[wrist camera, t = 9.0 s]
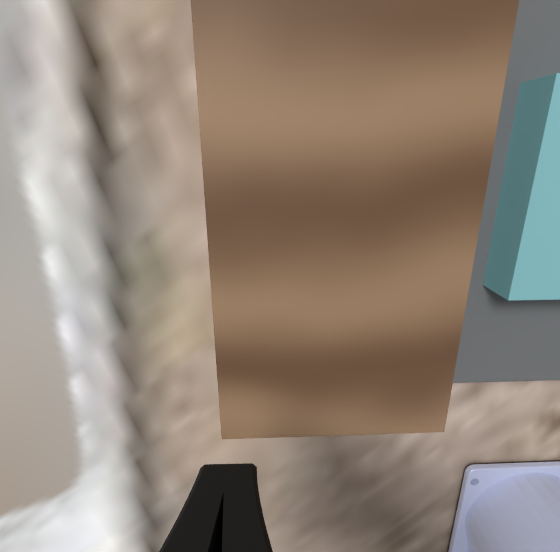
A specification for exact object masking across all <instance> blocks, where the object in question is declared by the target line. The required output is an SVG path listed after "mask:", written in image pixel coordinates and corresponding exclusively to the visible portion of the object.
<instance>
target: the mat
mask: <svg viewBox="0 0 560 552" xmlns="http://www.w3.org/2000/svg"><path fill="white" fill-rule="evenodd" d="M556 73H560V0H519V4H518V10H517V16H516V22H515V27H514V33H513V39H512V45H511V50H510V56H509V62H508V68H507V73H506V79H505V85H504V91H503V96H502V102H501V108H500V113H499V119H498V125H497V131H496V136H495V142H494V148H493V154H492V159H491V165H490V171H489V177H488V182H487V188H486V194H485V200H484V205H483V211H482V217H481V223H480V228H479V234H478V240H477V246H476V251H475V257H474V263H473V269H472V274H471V280H470V286H469V292H468V297H467V303H466V309H465V314H464V320H463V326H462V332H461V337H460V343H459V349H458V355H457V360H456V366H455V372H454V378H453V383H464V382H499V381H535V380H560V299H559V300H507V299H505V298H503V297H502V296H500V295H498V294H497V293H495V292H493V291H492V290H490V289H489V288H487V287H485V286H484V285H483V281H484V276H485V271H486V265H487V260H488V255H489V249H490V244H491V239H492V233H493V228H494V223H495V217H496V212H497V206H498V201H499V196H500V190H501V185H502V180H503V174H504V169H505V164H506V158H507V153H508V148H509V142H510V137H511V132H512V126H513V121H514V115H515V110H516V105H517V99H518V94H519V89H520V83H522V82H526V81H529V80H533V79H537V78H541V77H544V76H548V75H552V74H556Z"/></svg>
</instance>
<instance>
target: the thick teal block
mask: <svg viewBox="0 0 560 552" xmlns="http://www.w3.org/2000/svg"><path fill="white" fill-rule="evenodd" d="M483 285H484V286H485V287H487V288H489V289H490V290H492V291H493V292H495V293H497V294H498V295H500V296H502V297H503V298H505V299H507V300H559V299H560V73H556V74H552V75H548V76H544V77H541V78H537V79H533V80H529V81H526V82H522V83H520V89H519V94H518V99H517V105H516V110H515V115H514V121H513V126H512V132H511V137H510V142H509V148H508V153H507V158H506V164H505V169H504V174H503V180H502V185H501V190H500V196H499V201H498V206H497V212H496V217H495V223H494V228H493V233H492V239H491V244H490V249H489V255H488V260H487V265H486V271H485V276H484V281H483Z"/></svg>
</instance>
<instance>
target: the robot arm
mask: <svg viewBox="0 0 560 552" xmlns="http://www.w3.org/2000/svg"><path fill="white" fill-rule="evenodd" d="M159 552H273V551H272V548H271V544H270V541H269V537H268V533H267V530H266V526H265V522H264V518H263V513H262V508H261V503H260V498H259V492H258V485H257V467H256V466H255V465H254V464H210V465H204V466H203V467H201V468H200V471H199V473H198V476H197V478H196V481H195V483H194V485H193V488H192V490H191V492H190V494H189V496H188V498H187V500H186V502H185V504H184V506H183V508H182V510H181V512H180V514H179V516H178V518H177V520H176V522H175V524H174V526H173V528H172V529H171V531H170V533H169V535H168V537H167V539H166V540H165V542H164V544H163V546H162V548H161V550H160V551H159ZM448 552H560V461H555V462H527V463H500V464H473V465H470V466H468V467H467V468H466V470H465V474H464V478H463V483H462V488H461V493H460V498H459V503H458V508H457V512H456V517H455V522H454V527H453V532H452V537H451V542H450V546H449V551H448Z"/></svg>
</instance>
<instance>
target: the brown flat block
mask: <svg viewBox="0 0 560 552" xmlns="http://www.w3.org/2000/svg"><path fill="white" fill-rule="evenodd" d="M518 4H519V0H191V9H192V23H193V37H194V52H195V66H196V80H197V94H198V108H199V123H200V137H201V151H202V165H203V179H204V194H205V208H206V222H207V236H208V250H209V265H210V279H211V293H212V307H213V322H214V336H215V350H216V364H217V378H218V393H219V407H220V421H221V435H222V439H243V438H273V437H304V436H334V435H365V434H395V433H426V432H444V429H445V424H446V418H447V412H448V406H449V401H450V395H451V389H452V383H453V378H454V372H455V366H456V360H457V355H458V349H459V343H460V337H461V332H462V326H463V320H464V314H465V309H466V303H467V297H468V292H469V286H470V280H471V274H472V269H473V263H474V257H475V251H476V246H477V240H478V234H479V228H480V223H481V217H482V211H483V205H484V200H485V194H486V188H487V182H488V177H489V171H490V165H491V159H492V154H493V148H494V142H495V136H496V131H497V125H498V119H499V113H500V108H501V102H502V96H503V91H504V85H505V79H506V73H507V68H508V62H509V56H510V50H511V45H512V39H513V33H514V27H515V22H516V16H517V10H518Z"/></svg>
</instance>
